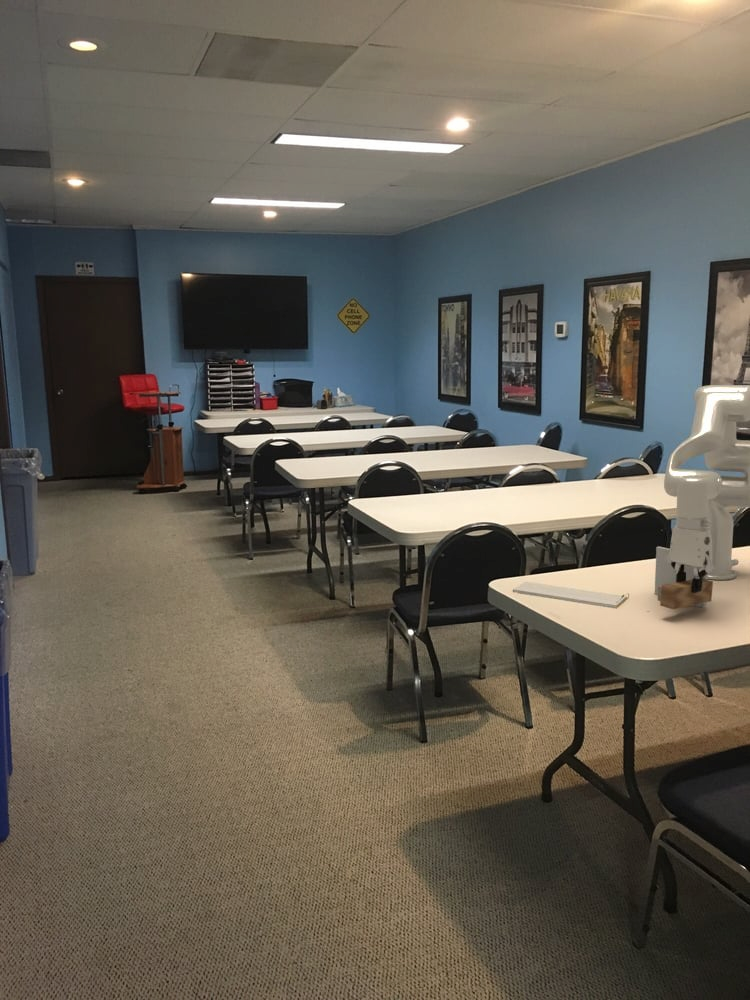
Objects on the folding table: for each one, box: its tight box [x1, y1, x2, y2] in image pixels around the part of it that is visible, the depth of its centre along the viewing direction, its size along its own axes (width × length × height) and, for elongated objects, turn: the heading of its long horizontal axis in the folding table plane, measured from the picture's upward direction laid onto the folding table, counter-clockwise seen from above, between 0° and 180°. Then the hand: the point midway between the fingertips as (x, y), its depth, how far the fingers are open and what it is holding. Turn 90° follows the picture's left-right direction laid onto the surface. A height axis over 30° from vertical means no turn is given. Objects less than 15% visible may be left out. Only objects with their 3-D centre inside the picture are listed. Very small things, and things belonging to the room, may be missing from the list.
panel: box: [654, 546, 709, 609], centre depth 217 cm, size 5×16×14 cm, turn 32°
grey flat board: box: [512, 581, 630, 609], centre depth 227 cm, size 31×3×12 cm
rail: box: [659, 579, 714, 610], centre depth 206 cm, size 16×4×6 cm, turn 122°
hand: (688, 588), depth 206 cm, fingers open, 4 cm apart
